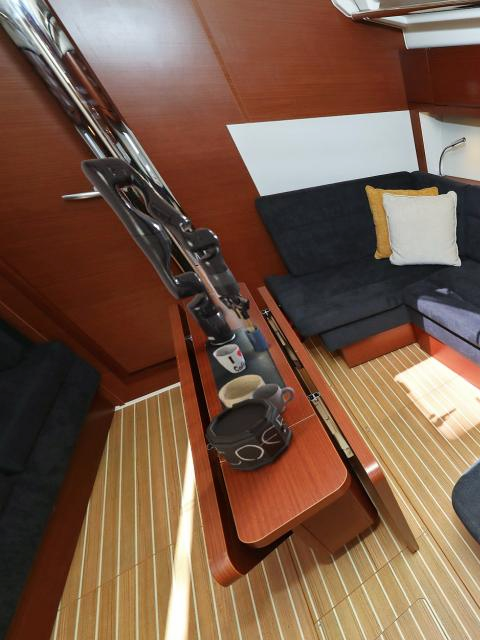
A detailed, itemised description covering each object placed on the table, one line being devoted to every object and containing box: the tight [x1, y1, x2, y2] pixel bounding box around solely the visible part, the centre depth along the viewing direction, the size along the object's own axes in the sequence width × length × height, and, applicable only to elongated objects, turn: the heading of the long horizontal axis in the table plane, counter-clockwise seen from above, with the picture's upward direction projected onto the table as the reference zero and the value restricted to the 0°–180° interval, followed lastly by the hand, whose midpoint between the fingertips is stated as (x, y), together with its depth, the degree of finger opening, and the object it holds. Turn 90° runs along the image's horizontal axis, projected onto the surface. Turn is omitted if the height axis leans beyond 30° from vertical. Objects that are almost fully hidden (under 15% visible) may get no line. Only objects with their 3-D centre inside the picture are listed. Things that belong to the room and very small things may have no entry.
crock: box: [244, 326, 270, 353], centre depth 145 cm, size 5×5×10 cm
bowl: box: [218, 374, 267, 408], centre depth 120 cm, size 13×13×7 cm
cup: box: [212, 343, 246, 374], centre depth 133 cm, size 8×8×10 cm
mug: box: [250, 383, 295, 415], centre depth 116 cm, size 12×9×10 cm
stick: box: [236, 307, 255, 333], centre depth 140 cm, size 2×2×18 cm
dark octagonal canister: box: [205, 399, 293, 471], centre depth 101 cm, size 18×18×16 cm
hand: (244, 318), depth 138 cm, fingers closed on stick, 2 cm apart
